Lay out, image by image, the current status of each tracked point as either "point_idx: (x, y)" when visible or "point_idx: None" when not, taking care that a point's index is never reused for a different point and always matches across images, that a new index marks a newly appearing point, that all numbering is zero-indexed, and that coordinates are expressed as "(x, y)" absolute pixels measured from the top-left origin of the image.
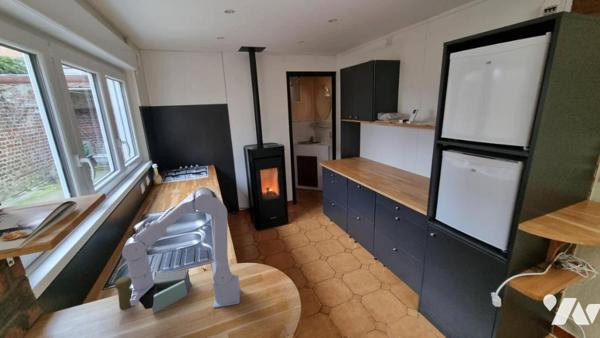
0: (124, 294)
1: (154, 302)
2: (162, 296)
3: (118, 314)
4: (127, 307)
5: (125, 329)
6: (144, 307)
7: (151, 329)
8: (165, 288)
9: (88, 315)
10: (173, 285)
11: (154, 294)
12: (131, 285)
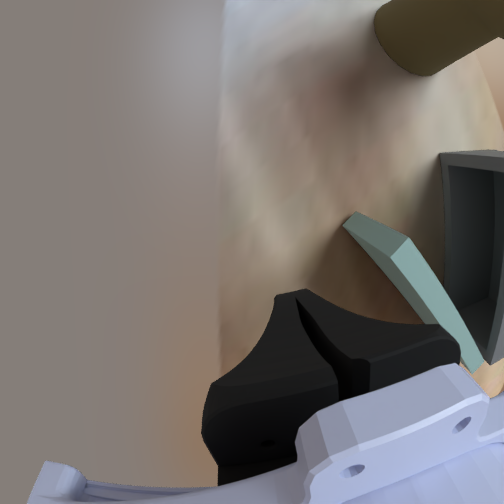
0: (437, 13)
1: (381, 255)
2: (414, 295)
3: (344, 17)
4: (386, 42)
5: (240, 116)
6: (274, 305)
7: (236, 272)
8: (489, 195)
9: None
10: (469, 335)
11: (460, 165)
12: (432, 435)
